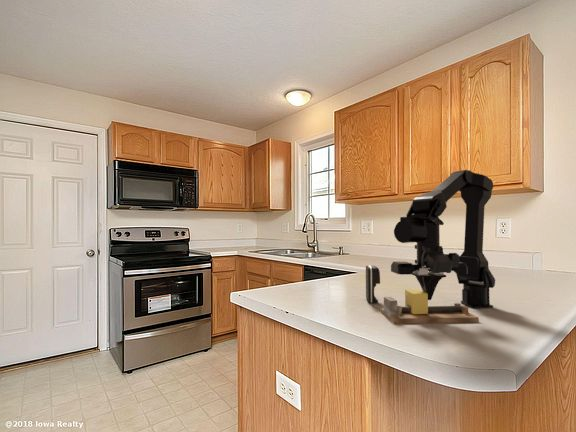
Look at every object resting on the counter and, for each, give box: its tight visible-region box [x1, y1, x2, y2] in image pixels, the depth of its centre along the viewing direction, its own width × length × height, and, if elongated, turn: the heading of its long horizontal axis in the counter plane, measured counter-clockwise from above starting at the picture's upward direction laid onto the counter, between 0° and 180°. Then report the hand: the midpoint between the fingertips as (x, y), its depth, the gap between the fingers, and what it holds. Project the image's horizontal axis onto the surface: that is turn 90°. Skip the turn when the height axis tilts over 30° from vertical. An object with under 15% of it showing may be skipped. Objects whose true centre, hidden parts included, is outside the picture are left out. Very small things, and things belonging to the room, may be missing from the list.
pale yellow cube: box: [404, 289, 429, 314], centre depth 85 cm, size 4×5×5 cm
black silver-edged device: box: [365, 264, 381, 304], centre depth 103 cm, size 7×4×11 cm, turn 174°
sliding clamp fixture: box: [380, 296, 480, 324], centre depth 85 cm, size 22×10×5 cm, turn 93°
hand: (428, 299), depth 85 cm, fingers closed
